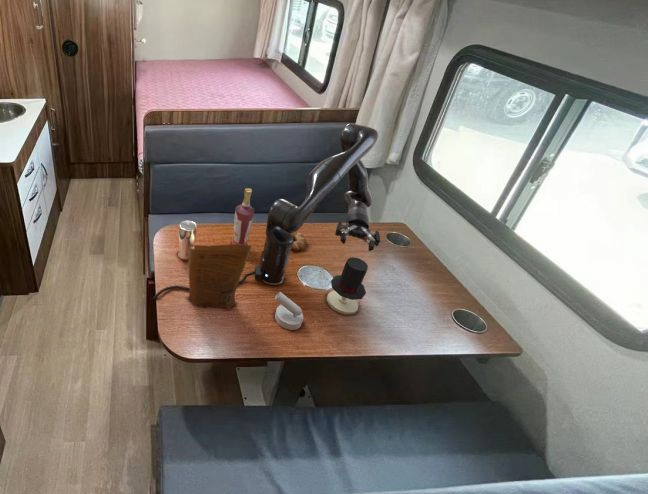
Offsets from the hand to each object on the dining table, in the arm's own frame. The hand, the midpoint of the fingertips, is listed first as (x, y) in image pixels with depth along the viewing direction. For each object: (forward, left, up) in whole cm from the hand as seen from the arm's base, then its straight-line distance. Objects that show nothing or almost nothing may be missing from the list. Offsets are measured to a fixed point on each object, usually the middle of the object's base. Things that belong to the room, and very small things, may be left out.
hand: (357, 245), depth 136 cm
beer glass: (-59, +3, -18) cm, 62 cm away
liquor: (-38, +13, -18) cm, 44 cm away
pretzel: (-16, +20, -18) cm, 32 cm away
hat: (-2, -10, -11) cm, 15 cm away
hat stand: (-2, -10, -18) cm, 21 cm away
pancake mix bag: (-47, -20, -19) cm, 55 cm away
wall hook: (-22, -21, -18) cm, 36 cm away
